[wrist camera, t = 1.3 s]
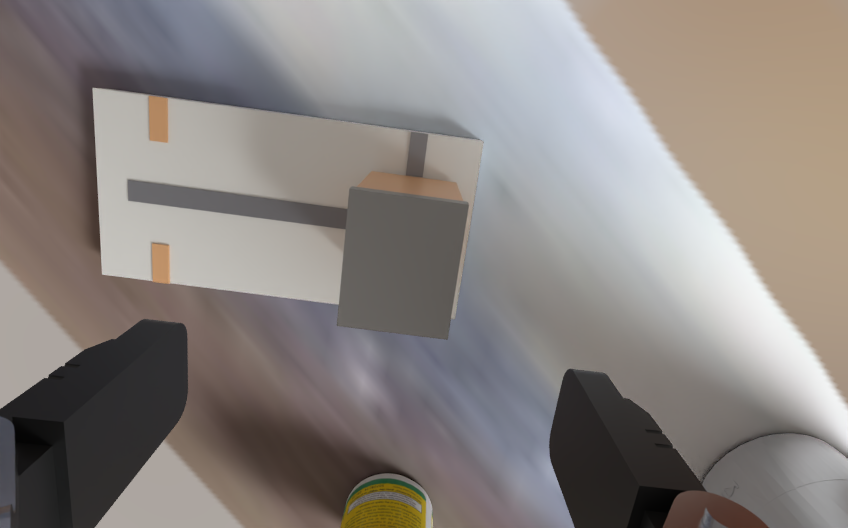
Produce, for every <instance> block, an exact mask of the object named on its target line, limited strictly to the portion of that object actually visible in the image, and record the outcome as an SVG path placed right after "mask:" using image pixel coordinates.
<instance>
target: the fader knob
mask: <svg viewBox="0 0 848 528" xmlns="http://www.w3.org/2000/svg"><path fill="white" fill-rule="evenodd" d="M468 208H469V203H468V202H466V201H463V199H462V196H461V193H460V191H459V188H458V186H457V183H456V182H449V181H442V180H434V179H427V178H420V177H412V176H405V175H397V174H390V173H383V172H375V171H371V172H370V173H369V174H368V175H367V176H366V178H365V179H364V180H363V181H362V182H361V183H360V184H359V185H358V186H357V187H354V186H351V187H350V188H349V197H348V208H347V219H346V230H345V241H344V252H343V263H342V274H341V285H340V296H339V307H338V318H337V326H343V327H351V328H359V329H367V330H374V331H382V332H390V333H398V334H406V335H414V336H422V337H430V338H438V339H446V340H447V339H448V333H449V327H450V321H451V314H452V308H453V302H454V296H455V289H456V283H457V277H458V271H459V264H460V258H461V252H462V246H463V240H464V233H465V227H466V221H467V215H468Z"/></svg>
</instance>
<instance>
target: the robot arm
mask: <svg viewBox="0 0 848 528" xmlns="http://www.w3.org/2000/svg"><path fill="white" fill-rule="evenodd" d="M187 393H188V360H187V330H186V327H185V326H184V324H182V323H175V322H166V321H158V320H149V319H143V320H141V321H140V322H138V323H137V324H136V325H134V326H133V327H132V328H130V329H129V330H128V331H126V332H125V333H123V334H122V335H121V336H119V337H118V338H117V339H111V340H108V341H106V342H103V343H101V344H98V345H95V346H93V347H90V348H88V349H85V350H84V351H82V352H81V353H79V354H78V355H76V356H75V357H74V358H72V359H71V360H69V361H68V362H67V363H65V366H61V367H59V368H58V369H57V370H55V371H54V372H52V373H51V374H49V377H48V378H44V379H42V380H41V381H40V382H38V383H37V384H36V385H34V386H32V387H31V388H30V389H28V390H27V391H25V392H24V393H23V394H21V395H20V396H18V397H17V398H15V399H14V400H13V401H11V402H10V403H8V404H7V405H6V406H4V407H3V408H1V409H0V528H94V527H95V526H96V525H97V524H98V522H99V521H100V520H101V519H102V517H103V516H104V515H105V513H106V512H107V511H108V510H109V509H110V507H111V506H112V505H113V504H114V502H115V501H116V499H118V497H119V496H120V495H121V493H122V492H123V491H124V489H125V488H126V487H127V486H128V485H129V483H130V482H131V481H132V479H133V478H134V477H135V476H136V474H137V473H138V472H139V471H140V469H141V468H142V467H143V465H144V464H145V463H146V462H147V461H148V459H149V458H150V457H151V455H152V454H153V453H154V452H155V450H156V449H157V448H158V447H159V445H160V444H161V443H162V442H163V440H164V439H165V438H166V436H167V435H168V434H169V433H170V431H171V430H172V429H173V428H174V426H175V425H176V424H177V422H178V421H179V419H180V418H181V416H182V413H183V411H184V408H185V405H186V400H187ZM672 446H673V445H672V444H671V442H670V441H669V440H668V438H667V437H666V436H665V435H664V434H662V430H661V429H660V428H659V426H658V425H657V424H656V422H655V421H654V420H653V418H652V417H651V416H650V414H648V413H647V412H646V411H644V410H643V409H642V408H641V407H639V406H638V405H637V404H635V403H634V402H633V401H631V400H630V399H625V398H623V397H622V396H621V395H620V393H619V392H618V390H617V389H616V387H615V386H614V384H613V383H612V382H611V380H610V379H609V377H608V376H607V375H606V374H605V373H601V372H592V371H584V370H575V369H568V370H567V371H566V373H565V375H564V377H563V381H562V385H561V389H560V394H559V398H558V402H557V407H556V411H555V415H554V420H553V424H552V428H551V433H550V444H549V448H550V459H551V463H552V466H553V469H554V471H555V474H556V477H557V480H558V482H559V485H560V488H561V491H562V493H563V496H564V499H565V502H566V505H567V507H568V510H569V513H570V516H571V518H572V521H573V524H574V527H575V528H848V459H847V458H846V457H845V456H844V455H842V454H841V453H840V452H839V451H838V450H836V449H835V448H834V447H832V446H831V445H829V444H828V443H826V442H824V441H823V440H820V439H817V438H814V437H812V436H809V435H802V434H795V433H786V434H773V435H769V436H764V437H760V438H757V439H754V440H752V441H749V442H747V443H744V444H742V445H740V446H739V447H737V448H735V449H734V450H732V451H731V452H729V453H727V454H726V455H725V456H724V457H723V458H722V459H721V460H719V461H718V462H717V463H716V464H715V465H714V466H713V468H712V469H711V470H710V472H709V473H708V474H707V475H706V477H705V479H704V481H703V483H702V484H701V483H700V481H699V480H698V479H697V477H696V476H695V475H694V473H693V472H692V471H691V469H690V468H689V467H688V465H687V464H686V463H685V461H684V460H683V459H682V457H681V456H680V455H679V453H678V452H677V450H676V449H673V447H672Z"/></svg>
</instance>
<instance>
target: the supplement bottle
mask: <svg viewBox="0 0 848 528" xmlns="http://www.w3.org/2000/svg"><path fill="white" fill-rule="evenodd" d="M341 528H433V514H432V505H431V502H430V499H429V497H428V495H427V493H426V492H425V491H424V489H423V488H422V487H421V486H420V485H418V484H417V483H416V482H414V481H412V480H410V479H408V478H406V477H404V476H401V475H398V474H392V473H384V474H378V475H374V476H371V477H368V478H366V479H364V480H363V481H361V482H360V483H359V484H357V485H356V486H355V487H354V489H353V490H352V492H351V493H350V495H349V497H348V499H347V502H346V505H345V509H344V514H343V518H342V523H341Z"/></svg>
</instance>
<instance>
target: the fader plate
mask: <svg viewBox="0 0 848 528" xmlns="http://www.w3.org/2000/svg"><path fill="white" fill-rule="evenodd" d="M93 107H94V127H95V146H96V165H97V184H98V204H99V223H100V242H101V262H102V275H110V276H118V277H126V278H134V279H142V280H150V281H153V282H158V283H166V284H169V283H173V284H181V285H189V286H197V287H205V288H212V289H220V290H228V291H236V292H244V293H252V294H260V295H267V296H275V297H283V298H291V299H299V300H307V301H315V302H322V303H330V304H338V305H339V296H340V285H341V274H342V263H343V252H344V241H345V230H346V219H347V208H348V197H349V188H350V187H351V186H354V187H357V186H358V185H359V184H360V183H361V182H362V181H363V180H364V179H365V178H366V176H367V175H368V174H369V173H370V172H371V171H375V172H383V173H390V174H397V175H405V176H412V177H420V178H427V179H434V180H442V181H449V182H456V183H457V186H458V188H459V191H460V193H461V196H462V199H463V201H466V202H468V203H469V208H468V215H467V221H466V227H465V233H464V240H463V246H462V252H461V258H460V264H459V271H458V277H457V283H456V289H455V296H454V302H453V308H452V314H451V319H455V315H456V309H457V303H458V297H459V290H460V284H461V278H462V272H463V266H464V260H465V254H466V247H467V241H468V235H469V229H470V223H471V217H472V211H473V204H474V198H475V192H476V186H477V180H478V174H479V168H480V162H481V155H482V149H483V143H484V142H483V141H482V140H478V139H470V138H463V137H456V136H449V135H441V134H434V133H427V132H420V131H412V130H405V129H398V128H391V127H383V126H376V125H369V124H362V123H354V122H347V121H340V120H333V119H325V118H318V117H311V116H304V115H296V114H289V113H282V112H275V111H267V110H260V109H253V108H246V107H238V106H231V105H224V104H217V103H210V102H202V101H195V100H188V99H181V98H173V97H166V96H159V95H152V94H144V93H137V92H130V91H123V90H115V89H104V88H93Z"/></svg>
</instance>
